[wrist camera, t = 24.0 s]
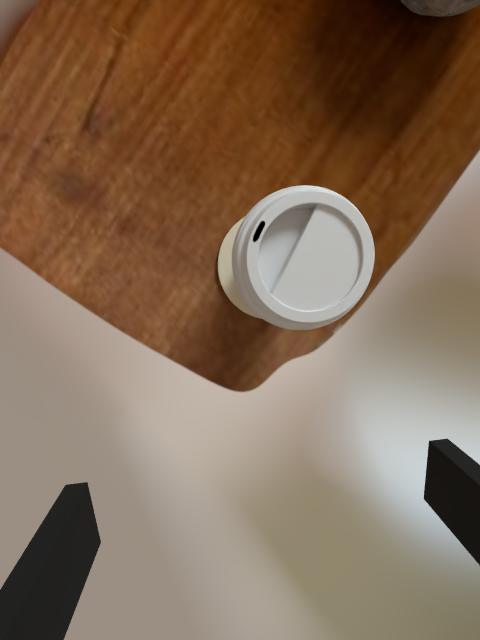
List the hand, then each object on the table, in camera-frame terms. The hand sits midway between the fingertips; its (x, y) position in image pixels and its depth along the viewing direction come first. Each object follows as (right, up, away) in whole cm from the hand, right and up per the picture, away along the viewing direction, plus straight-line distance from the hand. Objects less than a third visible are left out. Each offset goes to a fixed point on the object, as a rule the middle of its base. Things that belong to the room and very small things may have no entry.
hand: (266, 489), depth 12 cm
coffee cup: (+3, +13, +22) cm, 25 cm away
